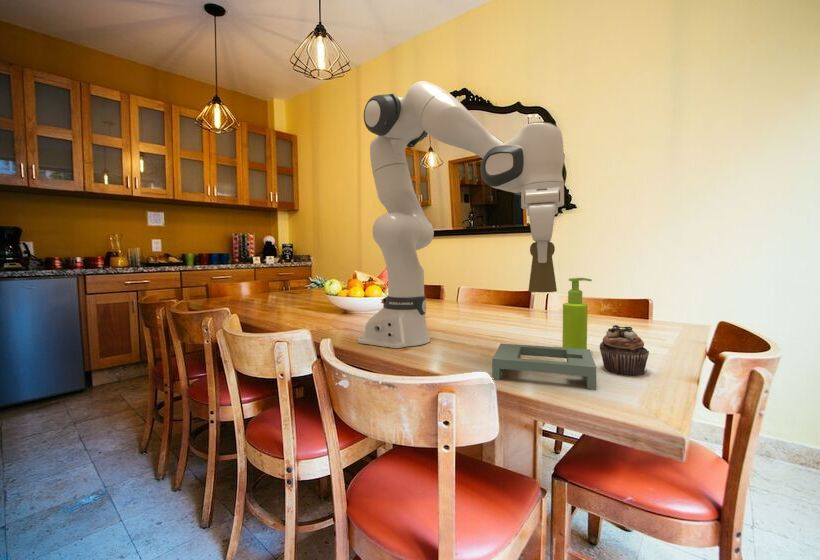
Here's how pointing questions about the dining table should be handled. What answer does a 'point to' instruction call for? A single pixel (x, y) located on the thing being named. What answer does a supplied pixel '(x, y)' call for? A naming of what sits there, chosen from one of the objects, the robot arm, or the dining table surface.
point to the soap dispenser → (575, 318)
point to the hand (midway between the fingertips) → (542, 262)
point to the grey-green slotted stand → (545, 361)
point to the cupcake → (623, 352)
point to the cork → (542, 271)
